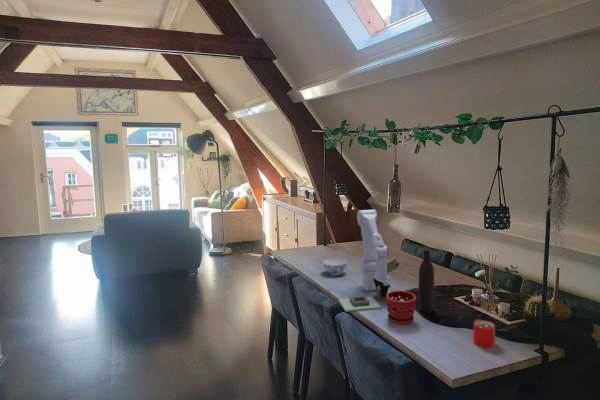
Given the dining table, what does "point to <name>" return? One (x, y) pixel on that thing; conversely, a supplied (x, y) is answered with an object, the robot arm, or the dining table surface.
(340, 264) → the chinaware
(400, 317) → the plant pot
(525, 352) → the dining table surface
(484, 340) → the red cylinder
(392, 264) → the handheld radio
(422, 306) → the wine bottle
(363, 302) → the end holder
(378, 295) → the connector plug
